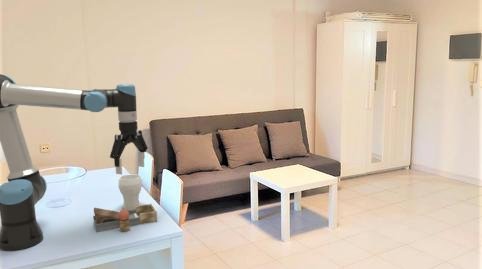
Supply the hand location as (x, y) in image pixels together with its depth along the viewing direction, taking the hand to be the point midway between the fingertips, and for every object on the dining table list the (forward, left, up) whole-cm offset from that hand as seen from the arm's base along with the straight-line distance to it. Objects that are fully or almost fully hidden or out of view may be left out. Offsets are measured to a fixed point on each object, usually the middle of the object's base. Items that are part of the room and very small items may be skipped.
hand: (130, 170), depth 172 cm
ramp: (-9, -1, -21) cm, 23 cm away
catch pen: (+5, -1, -22) cm, 23 cm away
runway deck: (-7, -1, -22) cm, 24 cm away
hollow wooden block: (-5, -10, -22) cm, 25 cm away
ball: (-5, -10, -16) cm, 19 cm away
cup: (+2, +16, -23) cm, 28 cm away
